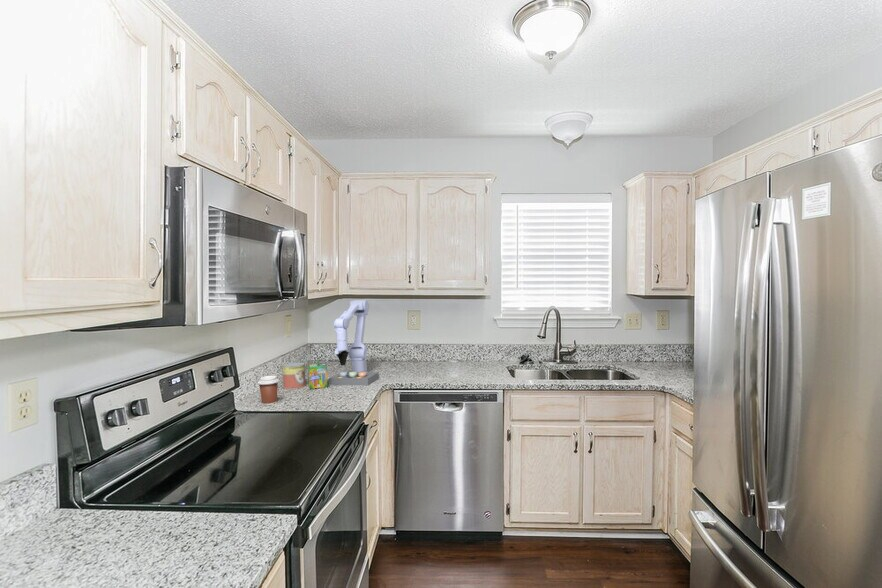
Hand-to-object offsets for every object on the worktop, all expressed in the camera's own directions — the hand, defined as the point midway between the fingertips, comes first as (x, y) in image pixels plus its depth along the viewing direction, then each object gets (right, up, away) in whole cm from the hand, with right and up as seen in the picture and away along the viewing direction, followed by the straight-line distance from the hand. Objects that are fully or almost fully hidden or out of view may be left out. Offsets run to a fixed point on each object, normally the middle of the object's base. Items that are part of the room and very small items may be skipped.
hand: (343, 365), depth 239 cm
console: (+6, -9, +1) cm, 11 cm away
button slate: (0, -7, 0) cm, 7 cm away
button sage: (+6, -7, -1) cm, 9 cm away
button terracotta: (+11, -7, -2) cm, 13 cm away
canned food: (-24, -11, -6) cm, 27 cm away
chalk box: (-11, -10, -8) cm, 17 cm away
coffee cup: (-25, -11, -38) cm, 47 cm away
